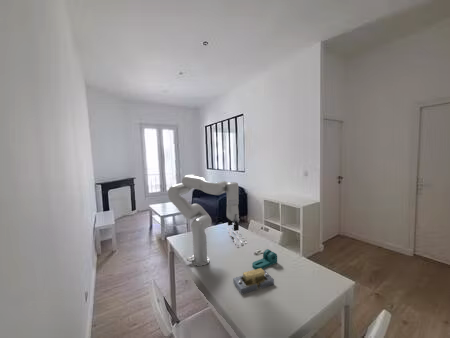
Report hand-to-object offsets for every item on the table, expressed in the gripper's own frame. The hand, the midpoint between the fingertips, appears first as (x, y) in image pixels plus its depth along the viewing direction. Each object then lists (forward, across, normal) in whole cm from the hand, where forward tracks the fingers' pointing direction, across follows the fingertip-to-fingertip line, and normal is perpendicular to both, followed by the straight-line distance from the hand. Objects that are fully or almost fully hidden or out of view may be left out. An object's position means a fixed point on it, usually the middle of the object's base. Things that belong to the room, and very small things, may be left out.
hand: (233, 227), depth 132 cm
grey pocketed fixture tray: (+28, +18, +5) cm, 34 cm away
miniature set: (+29, -44, +22) cm, 57 cm away
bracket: (+28, +3, +21) cm, 36 cm away
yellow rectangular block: (+28, +18, +5) cm, 34 cm away
